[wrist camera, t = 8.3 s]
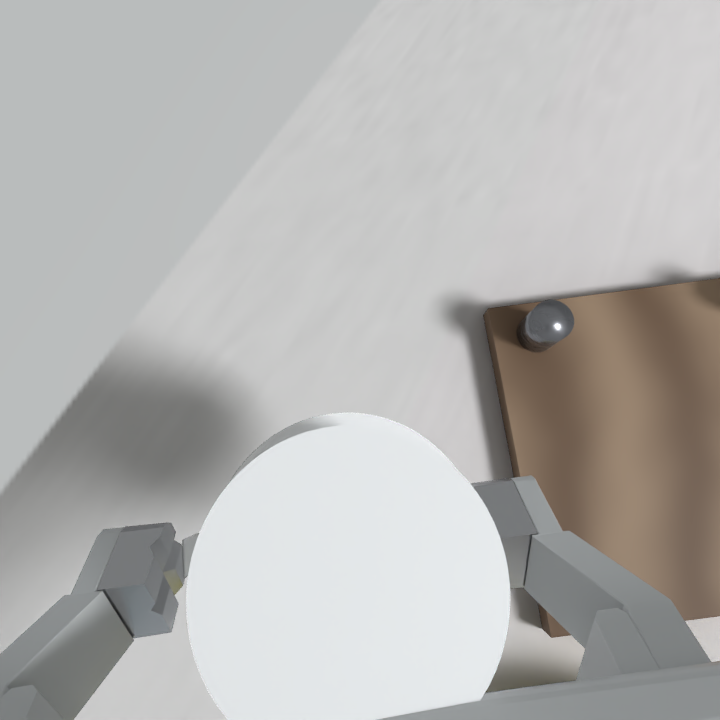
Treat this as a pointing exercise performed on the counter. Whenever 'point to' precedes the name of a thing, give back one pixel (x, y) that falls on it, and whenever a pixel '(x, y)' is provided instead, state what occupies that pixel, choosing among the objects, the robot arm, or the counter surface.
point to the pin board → (622, 427)
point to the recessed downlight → (346, 578)
